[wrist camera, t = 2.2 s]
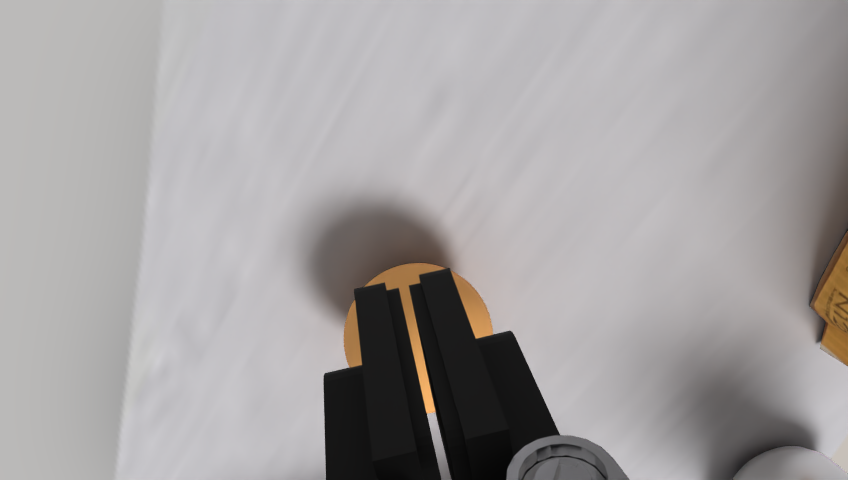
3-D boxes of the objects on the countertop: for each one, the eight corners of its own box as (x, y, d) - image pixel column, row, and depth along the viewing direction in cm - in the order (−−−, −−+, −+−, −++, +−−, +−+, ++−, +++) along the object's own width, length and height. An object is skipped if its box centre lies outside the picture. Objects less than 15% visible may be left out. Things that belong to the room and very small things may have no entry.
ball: (326, 254, 29) (329, 338, 23) (466, 223, 29) (500, 300, 24) (357, 365, 31) (365, 462, 26) (483, 336, 32) (517, 427, 26)
